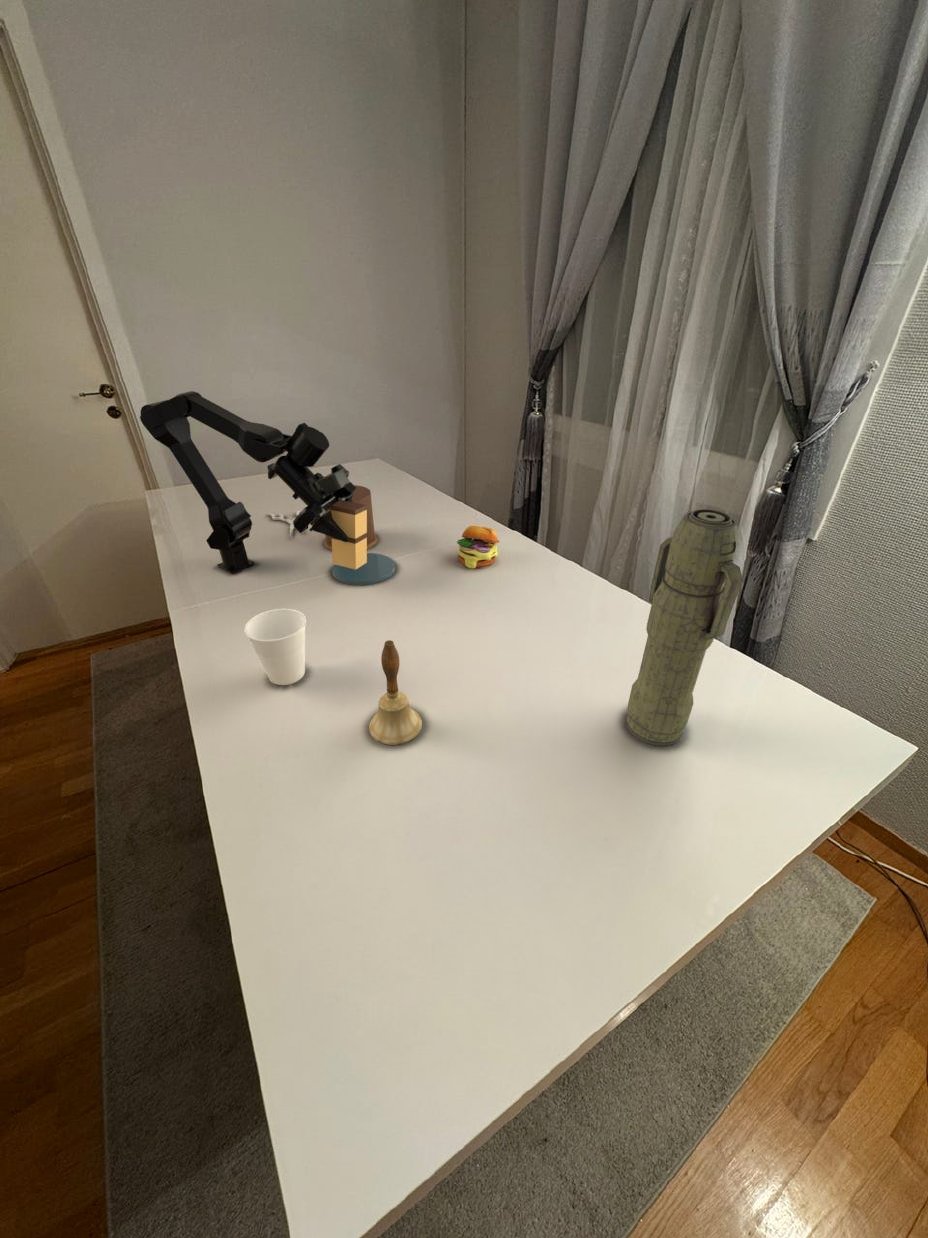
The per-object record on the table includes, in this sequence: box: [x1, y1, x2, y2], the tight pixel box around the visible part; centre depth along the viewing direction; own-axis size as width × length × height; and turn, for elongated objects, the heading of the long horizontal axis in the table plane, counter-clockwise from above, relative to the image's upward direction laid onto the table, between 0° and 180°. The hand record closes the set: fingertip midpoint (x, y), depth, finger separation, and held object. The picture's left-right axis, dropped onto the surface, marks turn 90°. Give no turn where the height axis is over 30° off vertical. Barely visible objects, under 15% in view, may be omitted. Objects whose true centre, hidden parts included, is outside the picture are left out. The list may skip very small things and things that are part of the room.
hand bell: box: [368, 640, 423, 746], centre depth 77 cm, size 8×8×16 cm
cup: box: [243, 608, 307, 686], centre depth 89 cm, size 10×10×11 cm
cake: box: [323, 484, 378, 551], centre depth 137 cm, size 14×14×13 cm
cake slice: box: [331, 500, 368, 570], centre depth 114 cm, size 6×5×13 cm
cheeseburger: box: [456, 525, 500, 569], centre depth 129 cm, size 10×11×10 cm
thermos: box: [624, 508, 744, 747], centre depth 72 cm, size 9×12×35 cm
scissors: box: [268, 509, 305, 537], centre depth 149 cm, size 11×1×20 cm
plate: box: [331, 552, 396, 586], centre depth 126 cm, size 15×15×1 cm
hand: (354, 535), depth 113 cm, fingers closed on cake slice, 6 cm apart
